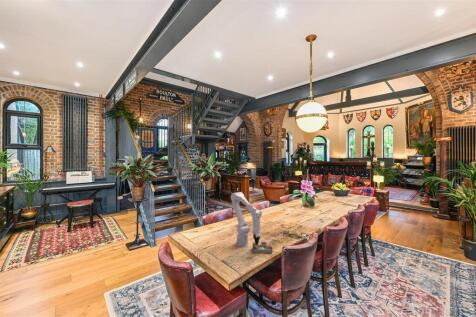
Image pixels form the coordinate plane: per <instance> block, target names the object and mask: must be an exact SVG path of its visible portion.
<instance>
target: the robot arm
mask: <svg viewBox="0 0 476 317" xmlns="http://www.w3.org/2000/svg"><path fill="white" fill-rule="evenodd" d="M230 200H231V204H232V207H233V210H234V213H235V217H236V219H237V225H236V229H237V230H236V231H237V233H236V247H249V240H248V239H249V236H248V235H249V232H250V231H251V230H250V229H251V228H250V226H249V225H248V222H246V221H245V218H244V216H243V212H242V209H241V207H240V202H241V203H242V204H243V205H245V207H246V210H247V211H248V212H249V213H250V215H251V219H252V233H253V235H252V236H253V240H254V243H255V245H259V243H260V240H261V236H260V233H262V230H261V217H262V211H261V210H260V209H257V208H256V207H255V206H254V204H252V203H250V202H249V201H248V200H247V198H246V197H245V194H244V193H243V192H241V191H239V192H232V193H231V194H230Z"/></svg>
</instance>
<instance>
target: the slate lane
mask: <svg viewBox="0 0 476 317" xmlns="http://www.w3.org/2000/svg"><path fill="white" fill-rule="evenodd" d="M272 244H273V243H272V242H269V245H270V247H271V249H266V245H261V244H258V246H260V249H254V252H253V253H263V254H264V253H265V254H273V245H272Z"/></svg>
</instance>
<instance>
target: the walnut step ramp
mask: <svg viewBox="0 0 476 317" xmlns="http://www.w3.org/2000/svg"><path fill="white" fill-rule="evenodd" d="M258 245H259V244H258ZM258 245H255V242H252V253H255V252H254V249H260V246H258Z"/></svg>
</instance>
